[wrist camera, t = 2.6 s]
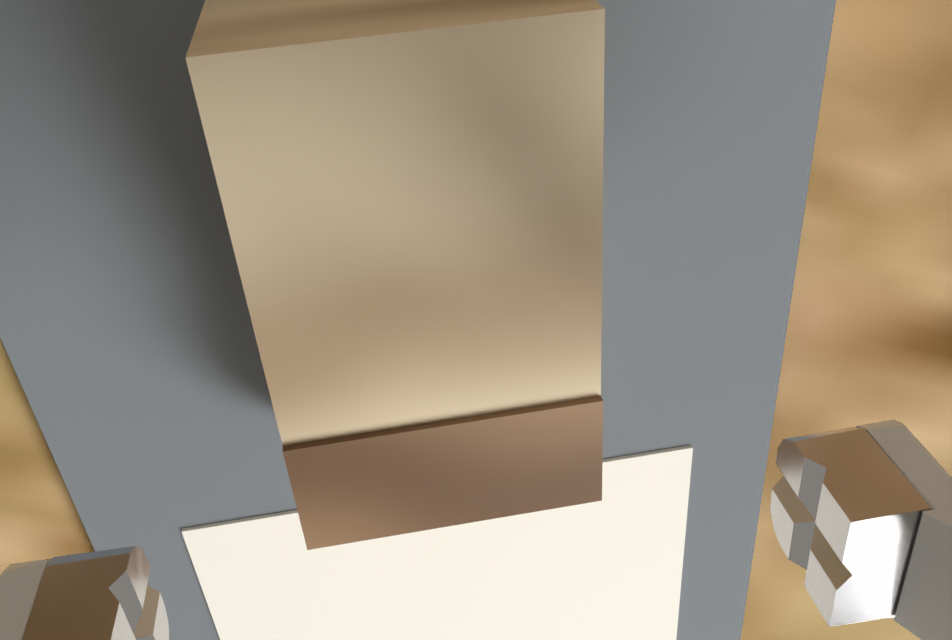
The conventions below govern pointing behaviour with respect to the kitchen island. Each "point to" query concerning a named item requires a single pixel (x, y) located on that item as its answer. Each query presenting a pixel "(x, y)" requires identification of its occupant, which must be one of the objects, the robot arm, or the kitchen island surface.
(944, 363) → the kitchen island surface
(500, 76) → the tan rectangular block
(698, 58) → the mat
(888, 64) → the kitchen island surface
